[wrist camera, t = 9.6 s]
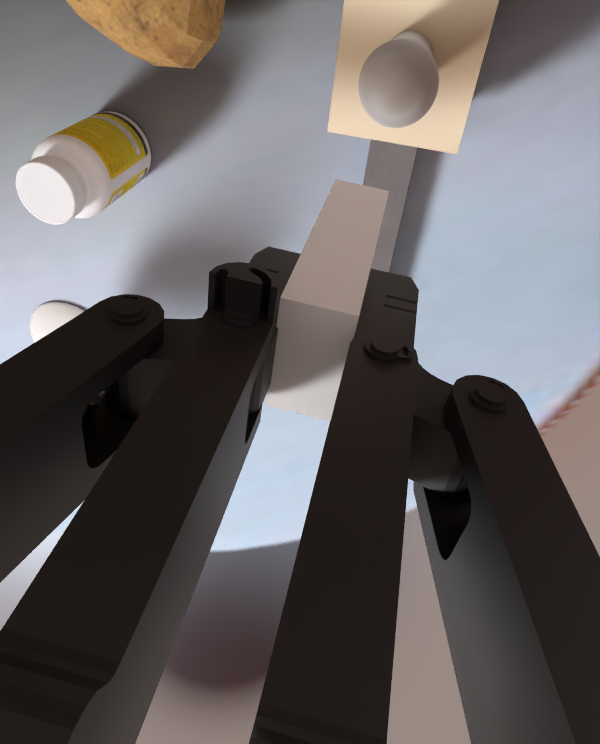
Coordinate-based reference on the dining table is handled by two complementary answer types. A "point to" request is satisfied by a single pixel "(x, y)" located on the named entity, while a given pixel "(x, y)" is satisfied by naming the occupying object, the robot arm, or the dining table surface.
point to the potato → (157, 27)
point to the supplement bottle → (84, 168)
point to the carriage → (409, 69)
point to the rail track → (393, 174)
